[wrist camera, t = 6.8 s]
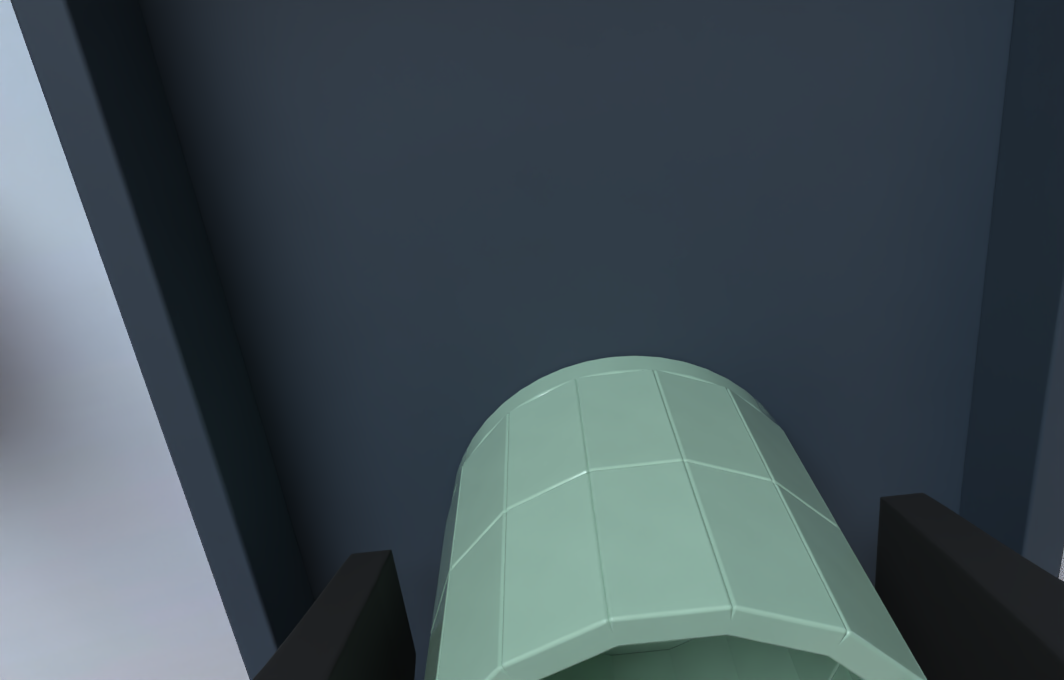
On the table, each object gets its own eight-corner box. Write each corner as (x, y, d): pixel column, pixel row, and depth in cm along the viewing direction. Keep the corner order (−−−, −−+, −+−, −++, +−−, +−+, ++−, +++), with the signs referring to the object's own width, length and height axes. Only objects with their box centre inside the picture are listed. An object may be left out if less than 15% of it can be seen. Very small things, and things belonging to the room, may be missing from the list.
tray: (951, 695, 16) (1020, 808, 14) (343, 754, 17) (316, 872, 14) (1084, -426, 9) (1259, -553, 7) (31, -270, 10) (-113, -341, 7)
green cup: (796, 624, 15) (940, 965, 10) (480, 656, 15) (458, 1007, 10) (799, 333, 12) (993, 580, 7) (424, 376, 12) (358, 645, 7)
